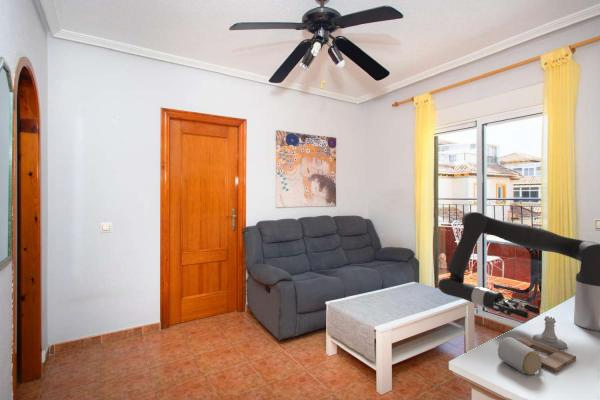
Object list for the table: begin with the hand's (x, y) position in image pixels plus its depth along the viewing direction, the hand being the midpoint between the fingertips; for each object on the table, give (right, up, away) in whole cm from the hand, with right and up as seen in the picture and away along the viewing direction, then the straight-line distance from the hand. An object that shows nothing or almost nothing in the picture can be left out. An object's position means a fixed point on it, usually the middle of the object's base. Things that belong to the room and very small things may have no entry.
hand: (533, 313), depth 107 cm
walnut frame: (-8, -9, -12) cm, 17 cm away
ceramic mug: (-19, -9, -19) cm, 28 cm away
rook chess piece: (+2, -8, -4) cm, 9 cm away
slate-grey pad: (+2, -9, -4) cm, 10 cm away
